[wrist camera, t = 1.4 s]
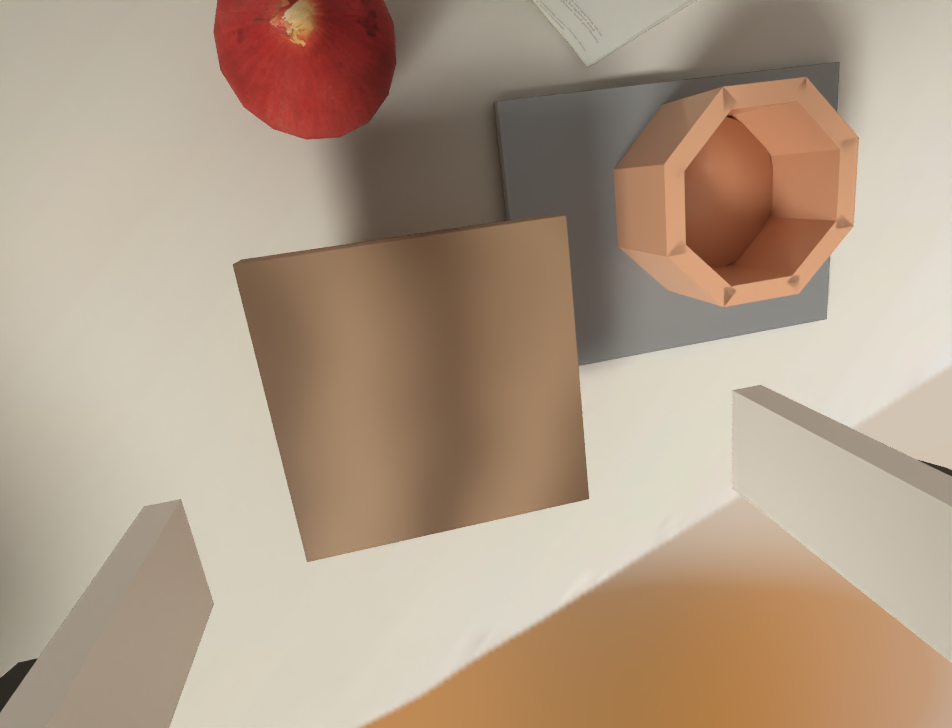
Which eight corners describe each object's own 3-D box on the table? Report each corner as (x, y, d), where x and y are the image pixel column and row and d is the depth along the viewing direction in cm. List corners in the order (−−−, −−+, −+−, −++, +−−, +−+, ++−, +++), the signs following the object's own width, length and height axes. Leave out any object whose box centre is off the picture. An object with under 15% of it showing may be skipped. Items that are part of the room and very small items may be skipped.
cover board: (310, 539, 23) (307, 562, 22) (241, 259, 20) (232, 264, 18) (575, 481, 25) (589, 498, 23) (552, 214, 22) (566, 215, 20)
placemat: (523, 371, 28) (526, 375, 28) (494, 103, 25) (497, 100, 24) (817, 316, 31) (826, 319, 30) (829, 64, 27) (839, 61, 27)
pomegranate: (254, -41, 22) (200, -165, 14) (405, 16, 23) (429, -69, 16) (225, 120, 23) (163, 84, 16) (370, 165, 25) (377, 151, 17)
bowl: (620, 298, 28) (668, 316, 23) (610, 110, 25) (661, 93, 21) (777, 271, 29) (849, 284, 25) (781, 90, 26) (862, 70, 22)
